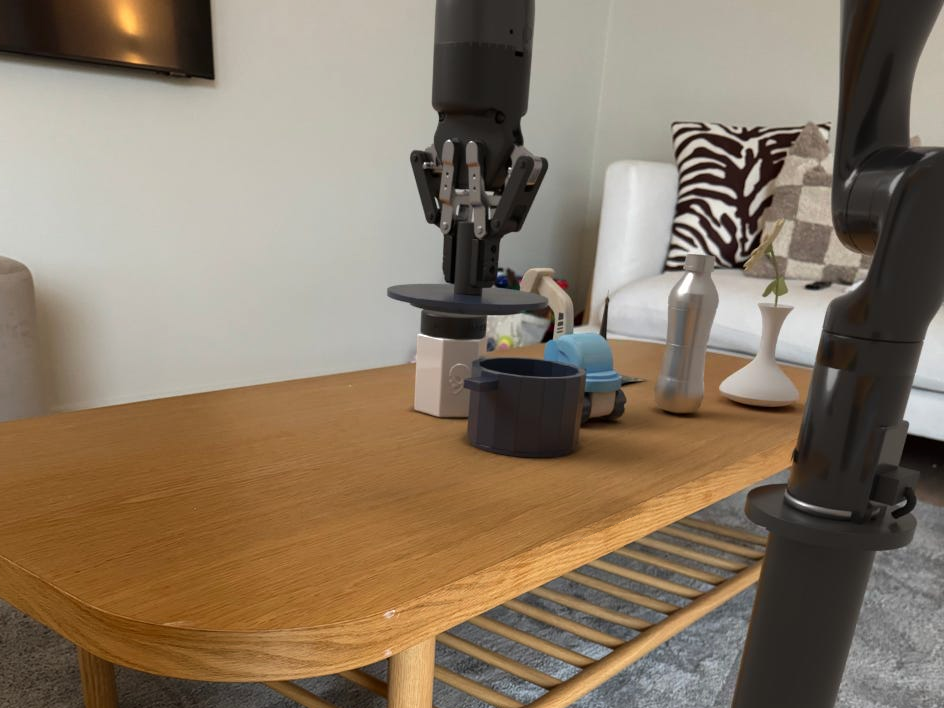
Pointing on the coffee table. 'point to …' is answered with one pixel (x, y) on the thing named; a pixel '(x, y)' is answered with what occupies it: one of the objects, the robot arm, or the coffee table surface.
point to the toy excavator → (579, 349)
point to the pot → (525, 406)
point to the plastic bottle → (687, 337)
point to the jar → (447, 361)
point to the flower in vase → (765, 346)
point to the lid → (466, 289)
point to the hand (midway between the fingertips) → (469, 284)
